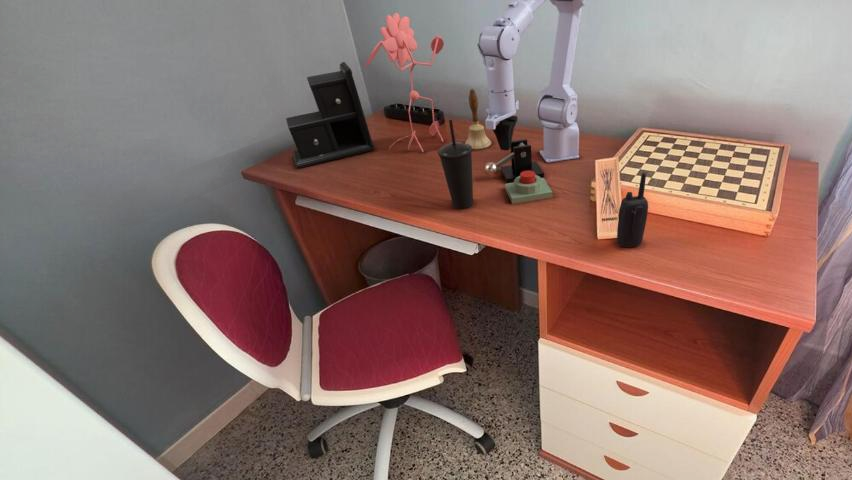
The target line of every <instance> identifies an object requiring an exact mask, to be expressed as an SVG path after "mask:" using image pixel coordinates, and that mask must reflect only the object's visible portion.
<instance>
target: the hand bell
mask: <svg viewBox="0 0 852 480" xmlns="http://www.w3.org/2000/svg"><path fill="white" fill-rule="evenodd" d="M478 99H479V98H478V95H477V93H476V89H475V88H471V89H469V95H468V105H469V108H470V111H471V115H472V124H471V125H469V127H468V137H467V139H466V140H465V142H464V143H465V144H469V145H471V146H472V150H483V149H487V148H489V147H490V146H492V141H491V140H490V139H489V138H488V136H487V133H486V131H485V127H484V125H482V124H480V122H479V115H478V108H479V100H478Z"/></svg>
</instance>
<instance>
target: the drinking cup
mask: <svg viewBox="0 0 852 480" xmlns="http://www.w3.org/2000/svg"><path fill="white" fill-rule="evenodd" d="M448 123H449V131H450V137H451V142H450V143H446V144H445V145H442V146H441V147H439V148H438V150H437V155H438V156H439V158H440V162H441V165H442V170H443V173H444V176H445V180H446V183H447V189H448V191H449V195H450V199H451V203H452V206H453V208H454V209H456V210H461V211H462V210H467V209H470V208H471V207H473V205H474V189H473V187H474V186H473V185H474V184H473V160H472V159H473V158H472V157H473V156H472V153H473V149H472V146H471V145H469V144H465V142H460V141H456V135H455V130H454V125H453V120H452V119H449V120H448Z"/></svg>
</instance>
